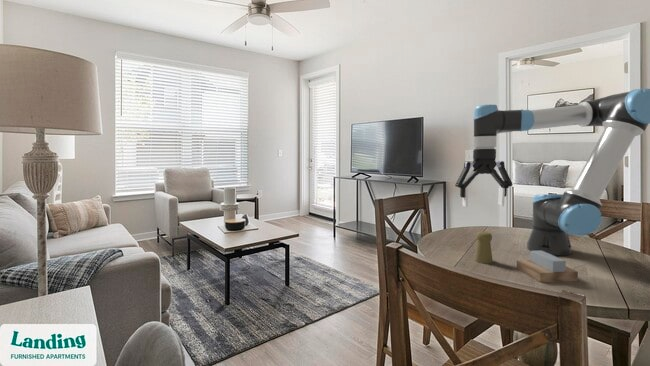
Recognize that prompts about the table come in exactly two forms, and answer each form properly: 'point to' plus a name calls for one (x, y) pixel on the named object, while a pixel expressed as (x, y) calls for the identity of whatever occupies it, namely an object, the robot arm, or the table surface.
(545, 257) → the slate-grey block
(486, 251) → the olive ball-ended rod
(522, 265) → the wooden flat board
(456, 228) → the table surface
